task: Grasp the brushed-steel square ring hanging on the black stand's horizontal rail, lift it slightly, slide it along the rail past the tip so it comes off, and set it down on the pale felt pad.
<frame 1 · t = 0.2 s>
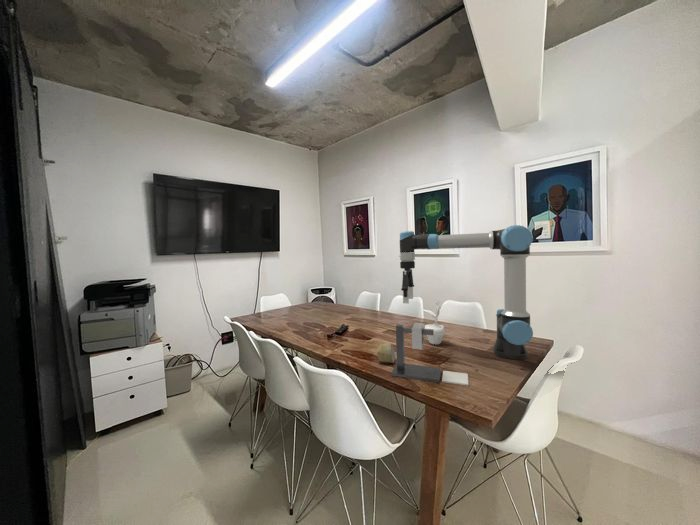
hand: (408, 301, 144), 28 cm above the table, fingers open, 13 cm apart
stand: (416, 373, 121), on the table
potted plant: (434, 343, 160), on the table
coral: (386, 361, 135), on the table
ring: (418, 345, 120), point 12 cm above the table, touching stand
pad: (455, 378, 115), on the table
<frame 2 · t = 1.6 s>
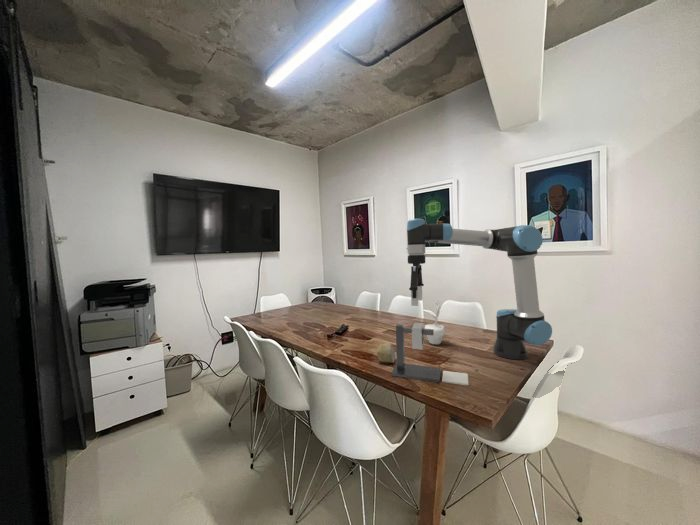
hand: (417, 302, 119), 32 cm above the table, fingers open, 13 cm apart
nothing on the table moved.
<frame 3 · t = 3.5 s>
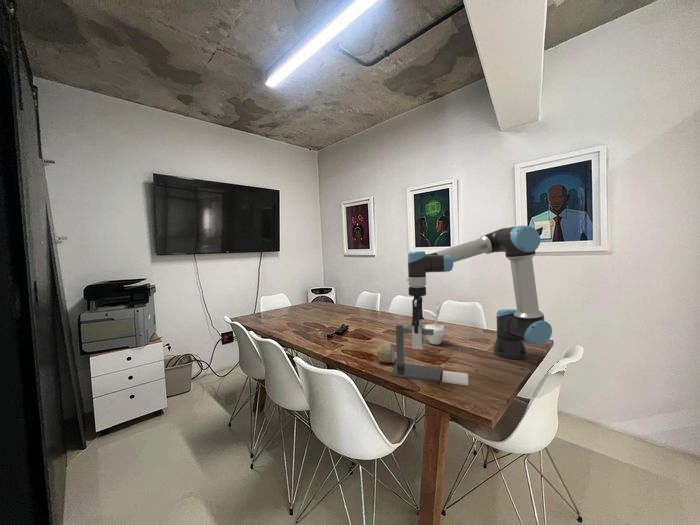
hand: (418, 337, 120), 16 cm above the table, fingers closed on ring, 9 cm apart
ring: (418, 345, 120), point 13 cm above the table, touching gripper, stand
everything else where it was.
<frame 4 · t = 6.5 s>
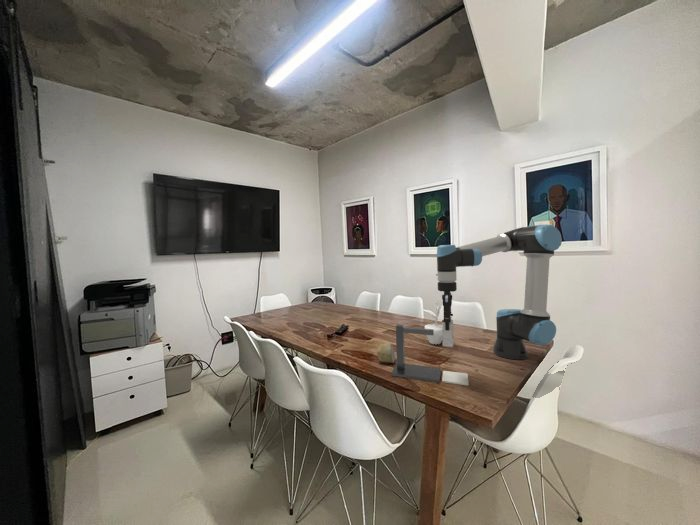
hand: (448, 334, 115), 19 cm above the table, fingers closed on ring, 9 cm apart
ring: (448, 343, 115), point 15 cm above the table, touching gripper
everything else where it was.
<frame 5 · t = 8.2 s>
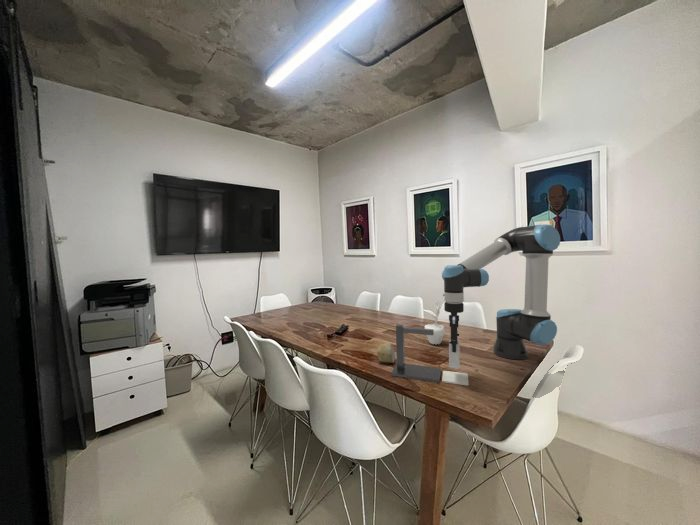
hand: (454, 355, 115), 10 cm above the table, fingers closed on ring, 9 cm apart
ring: (454, 364, 115), point 6 cm above the table, touching gripper
everything else where it was.
when the fingers open (6 cm above the table, at t = 9.6 s): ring drops 1 cm, resting on pad.
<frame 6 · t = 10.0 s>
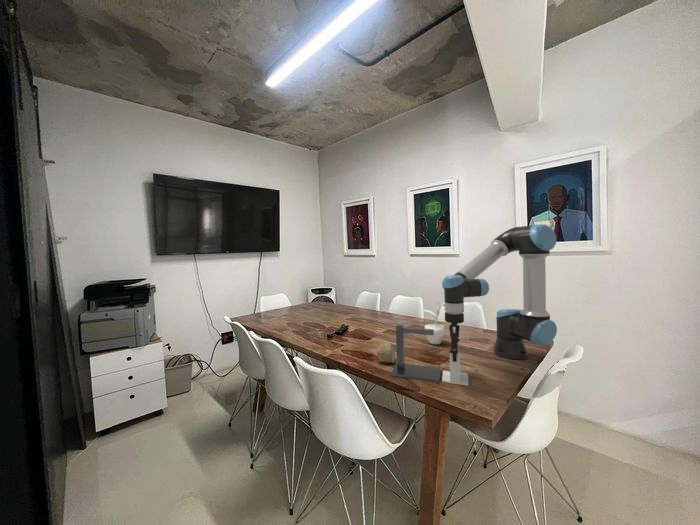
hand: (454, 362, 115), 7 cm above the table, fingers open, 13 cm apart
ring: (455, 376, 115), point 1 cm above the table, touching pad
everything else where it was.
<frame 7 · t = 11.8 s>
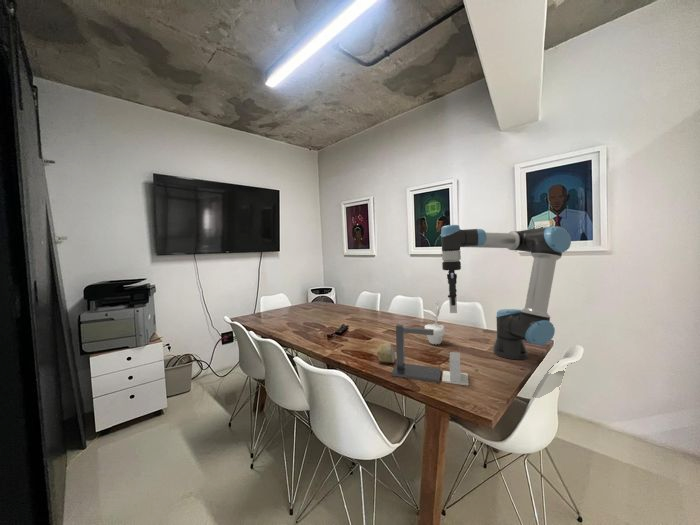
hand: (453, 309, 119), 28 cm above the table, fingers open, 13 cm apart
nothing on the table moved.
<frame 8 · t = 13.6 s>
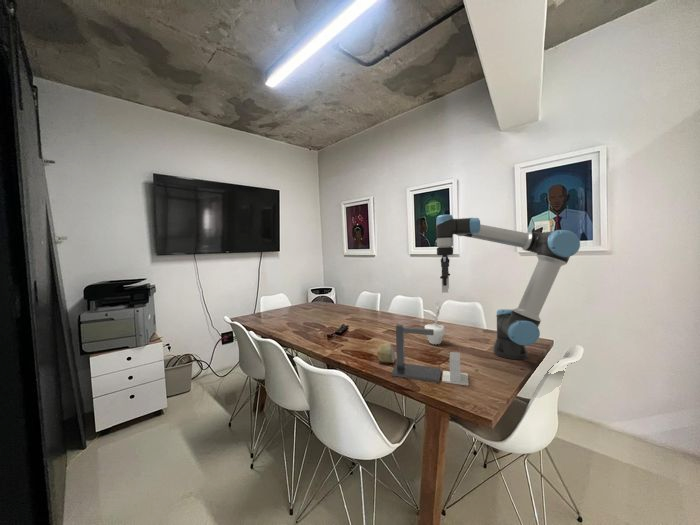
hand: (445, 290, 133), 35 cm above the table, fingers open, 13 cm apart
nothing on the table moved.
at the end: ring inside the target area on the pad (0.0 cm from its centre), point 0.6 cm above the pad's base; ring touching pad; the gripper is holding nothing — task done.
